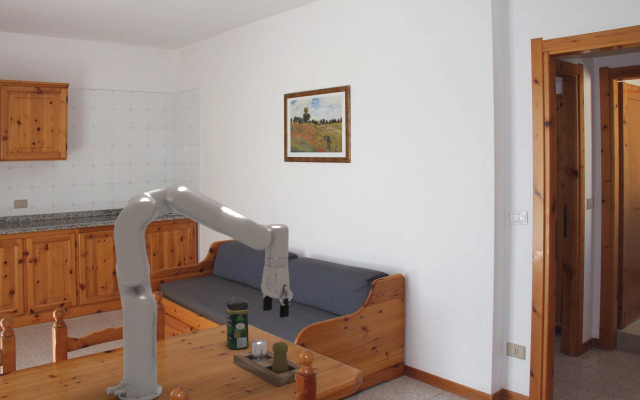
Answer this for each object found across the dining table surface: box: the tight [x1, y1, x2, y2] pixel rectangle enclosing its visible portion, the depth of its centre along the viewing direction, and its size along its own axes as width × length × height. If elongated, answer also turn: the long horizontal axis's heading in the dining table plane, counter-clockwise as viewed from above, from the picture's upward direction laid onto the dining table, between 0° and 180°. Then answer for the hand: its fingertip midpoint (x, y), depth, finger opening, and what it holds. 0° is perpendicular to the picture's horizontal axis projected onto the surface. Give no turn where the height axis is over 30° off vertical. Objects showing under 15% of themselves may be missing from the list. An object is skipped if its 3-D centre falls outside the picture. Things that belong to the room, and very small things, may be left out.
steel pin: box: [251, 338, 268, 362], centre depth 190 cm, size 5×5×8 cm
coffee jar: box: [226, 296, 249, 350], centre depth 209 cm, size 10×8×19 cm
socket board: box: [233, 349, 301, 387], centre depth 186 cm, size 13×27×2 cm, turn 39°
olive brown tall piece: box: [272, 341, 289, 374], centre depth 180 cm, size 6×6×11 cm
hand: (275, 313), depth 180 cm, fingers open, 9 cm apart
